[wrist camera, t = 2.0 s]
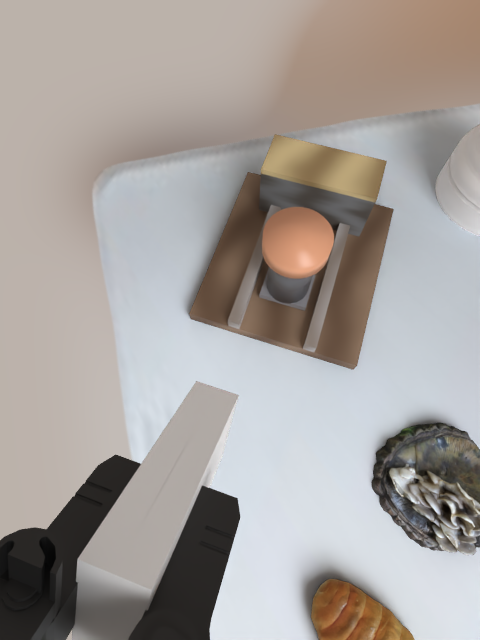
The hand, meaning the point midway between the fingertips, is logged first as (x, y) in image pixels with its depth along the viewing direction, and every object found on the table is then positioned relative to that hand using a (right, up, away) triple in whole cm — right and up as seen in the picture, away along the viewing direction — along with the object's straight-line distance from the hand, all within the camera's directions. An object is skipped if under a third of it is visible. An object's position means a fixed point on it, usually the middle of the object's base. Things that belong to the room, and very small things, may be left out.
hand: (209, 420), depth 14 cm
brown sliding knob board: (+7, +10, +32) cm, 34 cm away
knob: (+6, +7, +29) cm, 30 cm away
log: (+19, -12, +24) cm, 33 cm away
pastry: (+11, -23, +19) cm, 32 cm away
